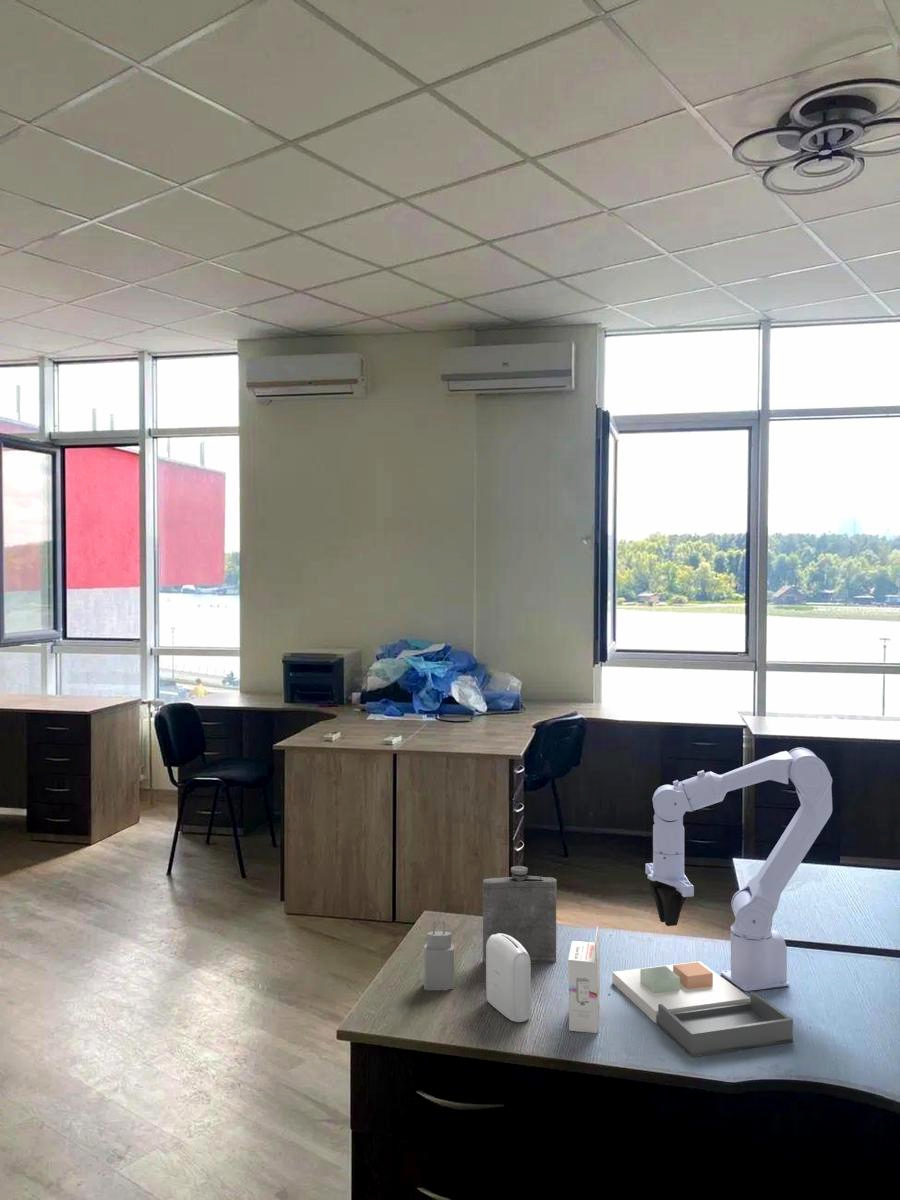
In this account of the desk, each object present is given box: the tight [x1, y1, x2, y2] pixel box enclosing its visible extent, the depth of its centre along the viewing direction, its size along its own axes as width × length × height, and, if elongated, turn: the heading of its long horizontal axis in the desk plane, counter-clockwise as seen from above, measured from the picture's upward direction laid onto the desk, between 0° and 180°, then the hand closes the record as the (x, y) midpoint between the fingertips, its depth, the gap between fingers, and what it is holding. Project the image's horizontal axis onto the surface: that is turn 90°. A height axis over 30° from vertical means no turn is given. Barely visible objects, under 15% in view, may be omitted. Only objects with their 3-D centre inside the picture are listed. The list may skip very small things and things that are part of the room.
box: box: [655, 991, 794, 1058], centre depth 143 cm, size 18×11×4 cm, turn 106°
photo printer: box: [485, 933, 532, 1023], centre depth 151 cm, size 10×4×12 cm, turn 26°
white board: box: [612, 960, 750, 1024], centre depth 156 cm, size 18×16×2 cm
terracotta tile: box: [672, 961, 713, 989], centre depth 157 cm, size 5×5×2 cm
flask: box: [482, 865, 557, 965], centre depth 171 cm, size 4×14×18 cm, turn 94°
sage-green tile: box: [639, 965, 680, 993], centre depth 156 cm, size 5×5×2 cm
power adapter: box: [423, 919, 455, 991], centre depth 160 cm, size 3×5×12 cm, turn 91°
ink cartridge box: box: [567, 925, 601, 1034], centre depth 147 cm, size 9×5×15 cm, turn 168°
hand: (668, 923), depth 166 cm, fingers closed
